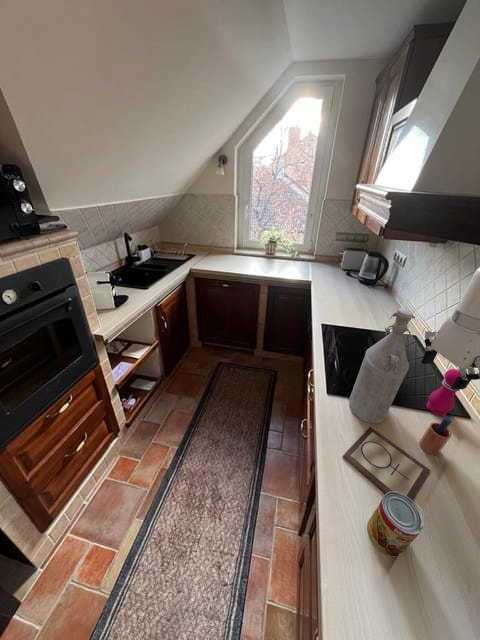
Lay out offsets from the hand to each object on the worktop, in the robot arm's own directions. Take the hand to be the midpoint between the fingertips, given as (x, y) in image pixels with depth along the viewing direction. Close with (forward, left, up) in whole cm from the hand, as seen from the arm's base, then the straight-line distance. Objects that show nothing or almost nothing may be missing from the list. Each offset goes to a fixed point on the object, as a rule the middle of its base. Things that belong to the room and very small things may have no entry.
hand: (440, 375), depth 67 cm
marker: (-6, -4, -28) cm, 28 cm away
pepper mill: (-2, -23, -28) cm, 36 cm away
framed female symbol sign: (0, +12, -28) cm, 31 cm away
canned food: (-8, +29, -28) cm, 42 cm away
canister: (+14, -4, -28) cm, 32 cm away
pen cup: (-6, -4, -28) cm, 29 cm away
